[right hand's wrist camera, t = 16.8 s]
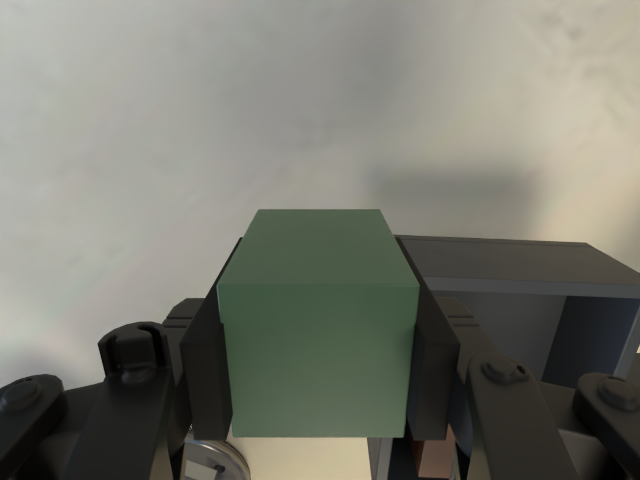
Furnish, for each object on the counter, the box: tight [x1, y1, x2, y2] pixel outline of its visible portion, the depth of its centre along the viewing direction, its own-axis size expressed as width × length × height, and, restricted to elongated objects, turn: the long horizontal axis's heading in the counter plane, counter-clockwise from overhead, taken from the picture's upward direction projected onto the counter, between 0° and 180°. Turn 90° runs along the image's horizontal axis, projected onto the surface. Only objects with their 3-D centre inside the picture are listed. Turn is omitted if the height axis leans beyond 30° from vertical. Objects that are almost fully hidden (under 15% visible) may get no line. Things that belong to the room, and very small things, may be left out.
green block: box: [217, 209, 420, 437], centre depth 12 cm, size 4×4×6 cm
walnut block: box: [405, 414, 456, 479], centre depth 26 cm, size 4×4×6 cm
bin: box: [367, 235, 640, 480], centre depth 25 cm, size 17×24×6 cm
